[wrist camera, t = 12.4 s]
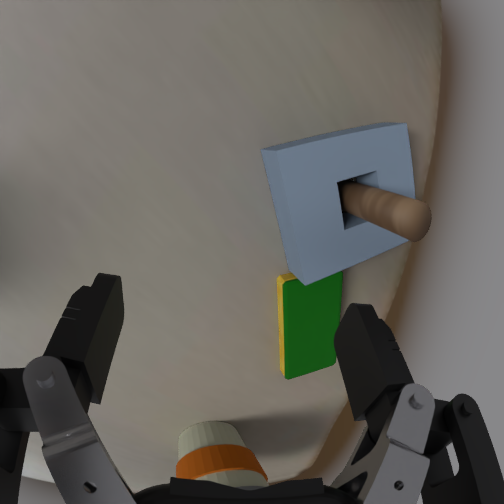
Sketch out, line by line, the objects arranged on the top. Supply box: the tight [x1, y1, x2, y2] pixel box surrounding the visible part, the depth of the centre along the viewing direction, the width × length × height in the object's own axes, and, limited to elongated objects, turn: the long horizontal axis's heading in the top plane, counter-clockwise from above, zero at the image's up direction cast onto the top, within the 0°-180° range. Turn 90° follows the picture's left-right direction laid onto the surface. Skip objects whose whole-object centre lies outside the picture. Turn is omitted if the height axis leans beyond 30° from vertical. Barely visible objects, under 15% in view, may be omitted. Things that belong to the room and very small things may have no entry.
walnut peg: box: [337, 180, 431, 242], centre depth 27 cm, size 3×3×12 cm
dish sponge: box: [277, 271, 343, 379], centre depth 36 cm, size 7×14×2 cm, turn 5°
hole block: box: [261, 123, 415, 285], centre depth 31 cm, size 13×15×4 cm
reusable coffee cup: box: [176, 421, 269, 490], centre depth 33 cm, size 13×13×15 cm
